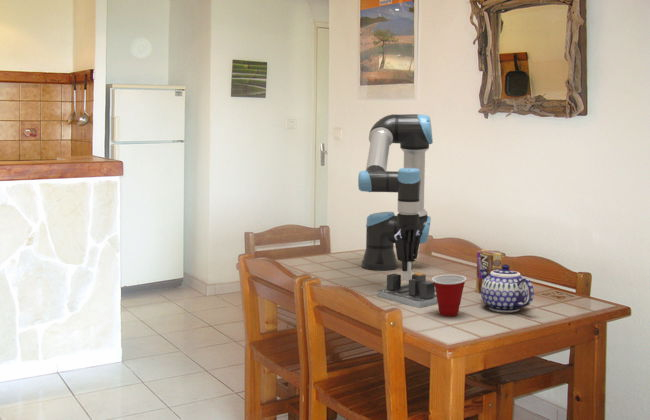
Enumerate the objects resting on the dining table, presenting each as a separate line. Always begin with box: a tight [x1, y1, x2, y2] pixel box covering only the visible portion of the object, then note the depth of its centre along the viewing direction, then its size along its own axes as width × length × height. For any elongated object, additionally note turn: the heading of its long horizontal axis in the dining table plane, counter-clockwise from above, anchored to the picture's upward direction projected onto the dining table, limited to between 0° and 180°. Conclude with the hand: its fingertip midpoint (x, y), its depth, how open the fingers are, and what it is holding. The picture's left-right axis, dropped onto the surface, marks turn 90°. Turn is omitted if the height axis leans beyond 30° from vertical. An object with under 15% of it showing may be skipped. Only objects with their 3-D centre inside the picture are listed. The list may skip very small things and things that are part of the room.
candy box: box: [475, 249, 503, 294], centre depth 249 cm, size 9×4×15 cm, turn 26°
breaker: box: [411, 272, 427, 282], centre depth 247 cm, size 4×3×5 cm
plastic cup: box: [431, 274, 467, 317], centre depth 221 cm, size 11×11×12 cm
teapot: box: [479, 263, 535, 313], centre depth 229 cm, size 25×15×15 cm, turn 25°
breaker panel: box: [376, 273, 438, 309], centre depth 243 cm, size 20×20×7 cm
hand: (406, 279), depth 244 cm, fingers closed
